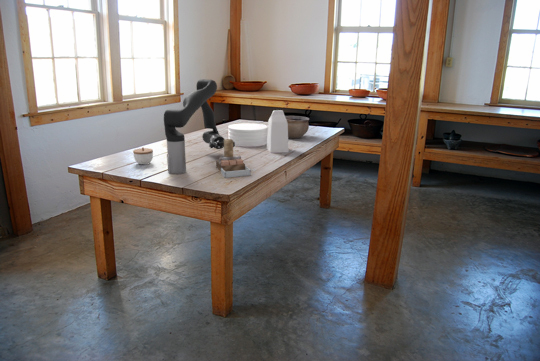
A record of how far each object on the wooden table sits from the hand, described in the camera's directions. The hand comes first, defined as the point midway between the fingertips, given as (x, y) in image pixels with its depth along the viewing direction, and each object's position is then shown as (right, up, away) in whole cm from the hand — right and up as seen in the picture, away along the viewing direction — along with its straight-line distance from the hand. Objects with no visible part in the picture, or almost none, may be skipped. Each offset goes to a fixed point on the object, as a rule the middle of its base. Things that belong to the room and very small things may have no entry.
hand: (225, 146), depth 242 cm
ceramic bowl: (+43, +13, +82) cm, 94 cm away
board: (+4, -13, -6) cm, 14 cm away
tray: (+7, -16, -15) cm, 22 cm away
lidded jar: (-47, -9, +5) cm, 48 cm away
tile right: (+9, -10, -9) cm, 15 cm away
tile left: (+1, -10, -11) cm, 15 cm away
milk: (+30, +1, +40) cm, 50 cm away
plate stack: (+10, +8, +64) cm, 65 cm away
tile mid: (+5, -10, -10) cm, 15 cm away
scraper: (+2, -8, -4) cm, 9 cm away
